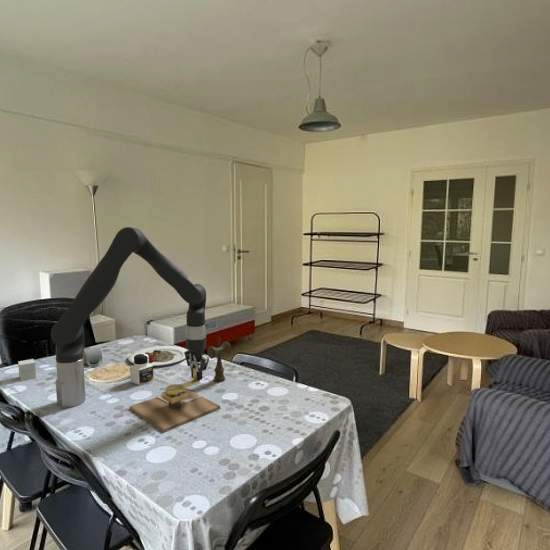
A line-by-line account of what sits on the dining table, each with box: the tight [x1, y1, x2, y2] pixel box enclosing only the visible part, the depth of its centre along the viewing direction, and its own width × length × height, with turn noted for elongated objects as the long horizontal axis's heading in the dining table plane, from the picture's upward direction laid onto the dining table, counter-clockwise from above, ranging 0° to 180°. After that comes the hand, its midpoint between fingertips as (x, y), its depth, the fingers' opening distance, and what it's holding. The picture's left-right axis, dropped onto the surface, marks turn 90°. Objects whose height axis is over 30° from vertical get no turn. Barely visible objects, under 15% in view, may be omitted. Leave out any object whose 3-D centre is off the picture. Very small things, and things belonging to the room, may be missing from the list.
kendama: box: [206, 336, 232, 382], centre depth 174 cm, size 6×10×20 cm, turn 134°
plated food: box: [127, 345, 188, 367], centre depth 203 cm, size 30×30×3 cm
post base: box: [129, 388, 221, 433], centre depth 148 cm, size 24×24×6 cm
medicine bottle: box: [129, 354, 154, 386], centre depth 173 cm, size 7×7×12 cm
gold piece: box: [160, 366, 201, 404], centre depth 150 cm, size 15×9×9 cm, turn 136°
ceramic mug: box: [83, 346, 103, 368], centre depth 193 cm, size 11×8×8 cm
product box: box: [17, 358, 37, 382], centre depth 176 cm, size 6×6×7 cm
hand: (196, 378), depth 154 cm, fingers closed on gold piece, 3 cm apart
